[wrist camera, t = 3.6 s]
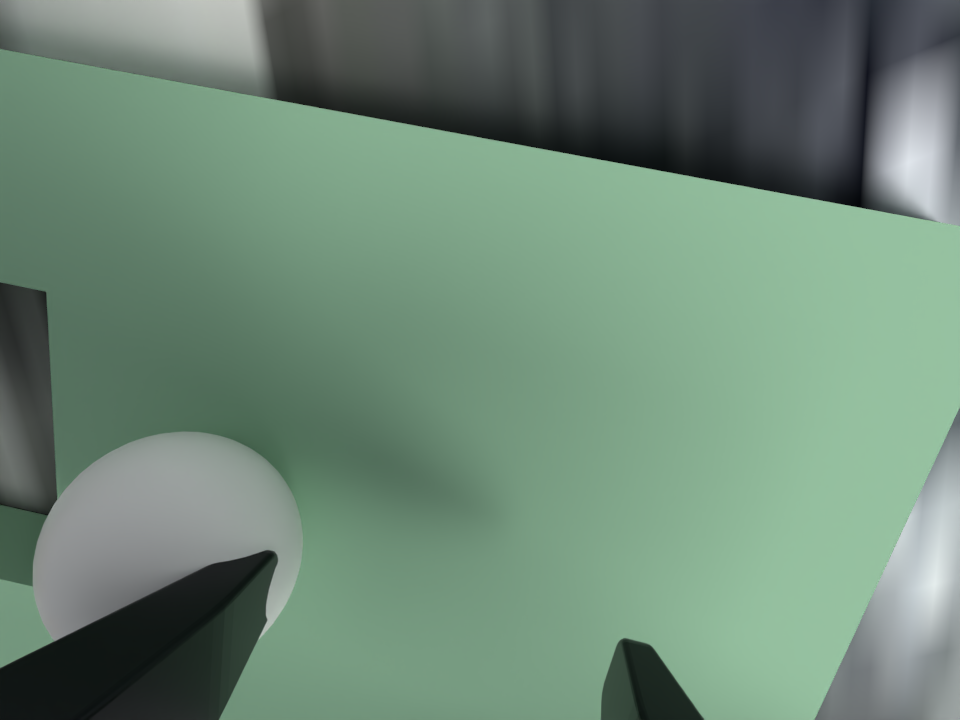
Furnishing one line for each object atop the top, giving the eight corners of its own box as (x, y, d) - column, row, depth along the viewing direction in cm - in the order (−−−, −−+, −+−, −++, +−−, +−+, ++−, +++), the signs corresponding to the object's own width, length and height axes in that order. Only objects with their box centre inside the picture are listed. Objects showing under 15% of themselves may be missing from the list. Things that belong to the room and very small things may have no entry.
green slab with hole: (944, 226, 10) (1239, 271, 6) (710, 793, 14) (778, 1067, 10) (-293, -3, 11) (-821, -108, 7) (-175, 583, 15) (-458, 746, 11)
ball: (362, 473, 9) (74, 547, 6) (332, 670, 10) (74, 802, 7) (248, 385, 11) (3, 413, 8) (233, 552, 12) (10, 621, 9)
